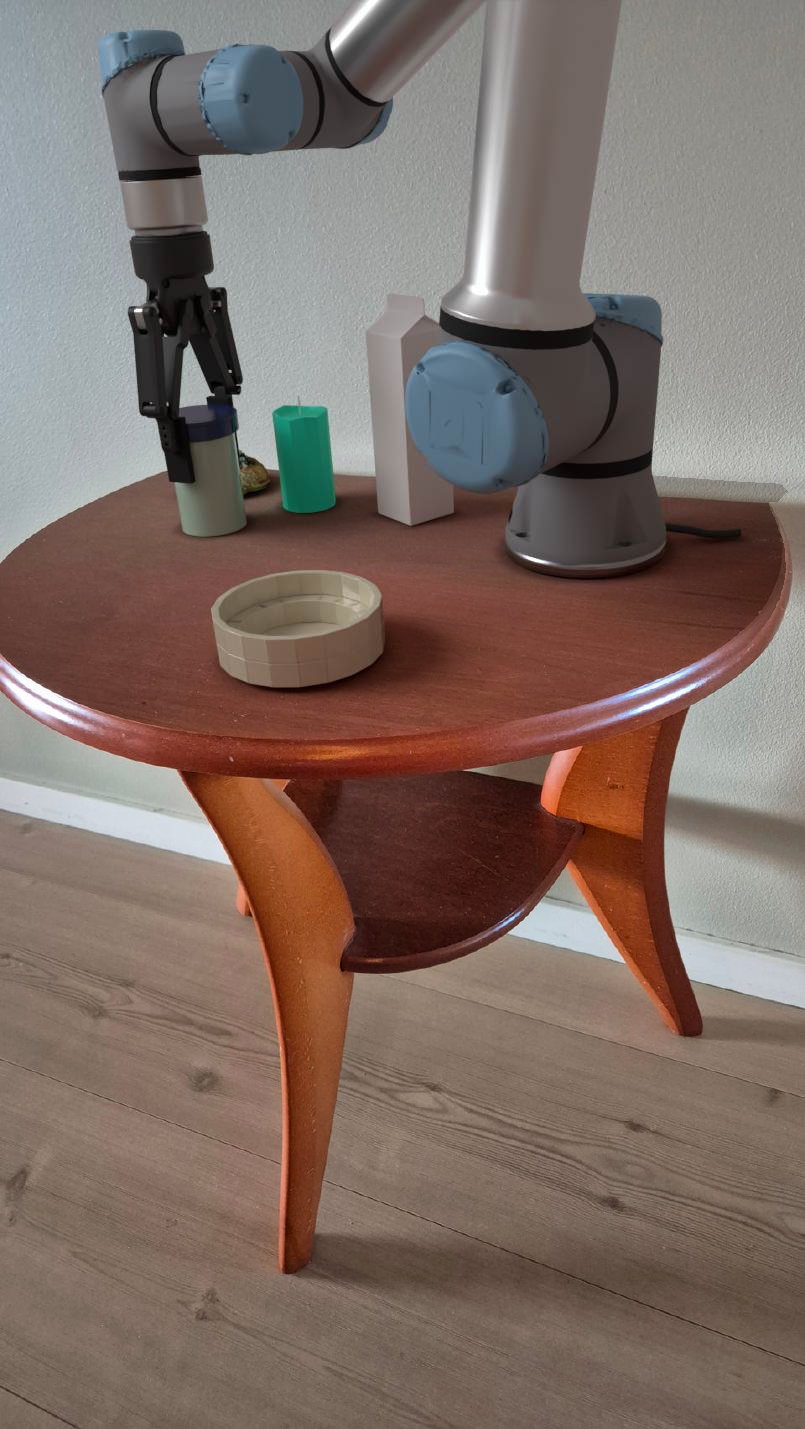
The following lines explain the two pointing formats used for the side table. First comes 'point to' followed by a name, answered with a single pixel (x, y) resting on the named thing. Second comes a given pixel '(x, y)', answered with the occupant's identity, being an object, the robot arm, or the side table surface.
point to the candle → (304, 458)
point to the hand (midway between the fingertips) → (205, 469)
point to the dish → (299, 628)
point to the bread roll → (252, 473)
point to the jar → (212, 490)
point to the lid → (209, 421)
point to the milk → (402, 414)
